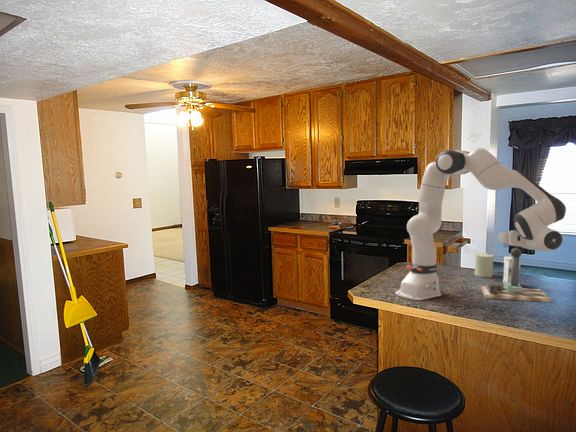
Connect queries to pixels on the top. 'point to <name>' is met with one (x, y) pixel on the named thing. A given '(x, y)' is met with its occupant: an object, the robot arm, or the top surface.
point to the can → (484, 265)
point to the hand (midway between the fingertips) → (516, 238)
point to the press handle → (514, 272)
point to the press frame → (512, 293)
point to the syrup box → (508, 269)
